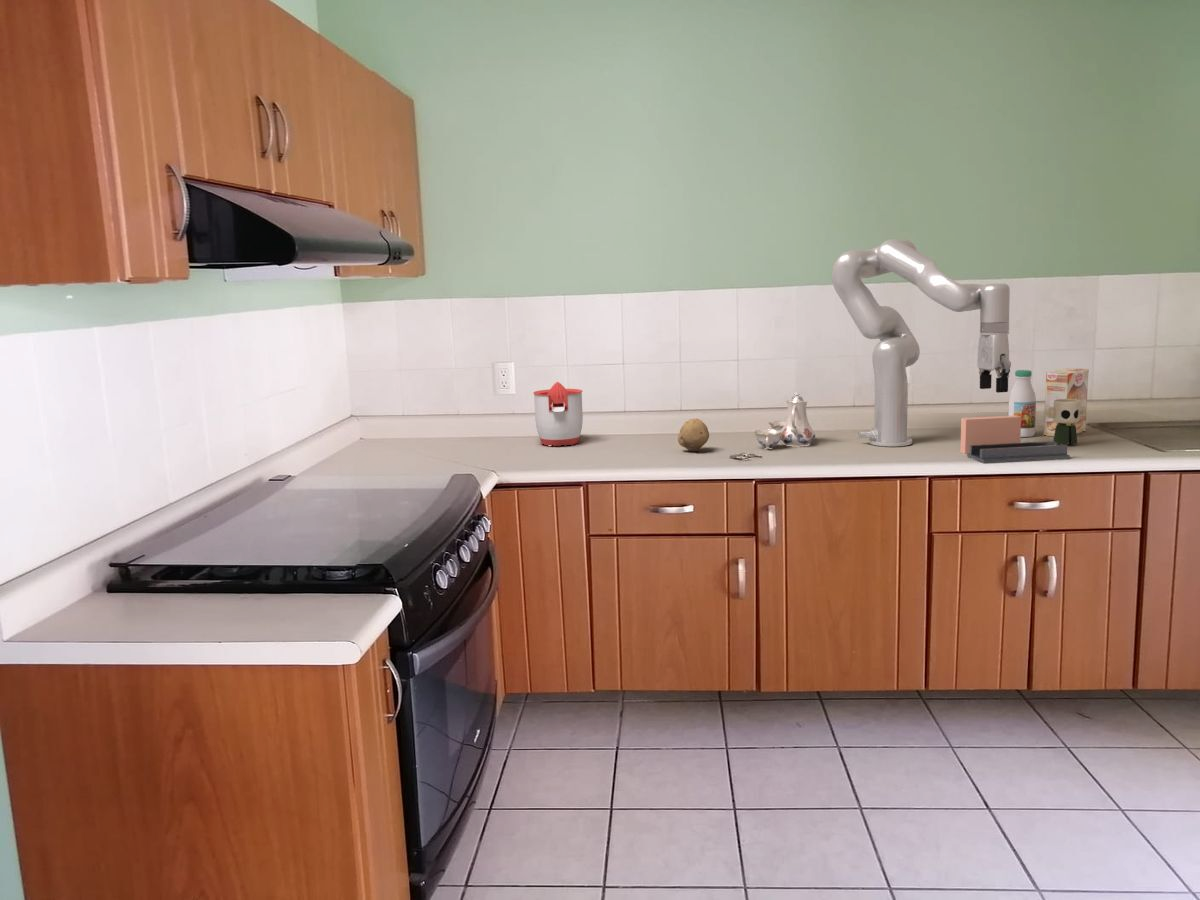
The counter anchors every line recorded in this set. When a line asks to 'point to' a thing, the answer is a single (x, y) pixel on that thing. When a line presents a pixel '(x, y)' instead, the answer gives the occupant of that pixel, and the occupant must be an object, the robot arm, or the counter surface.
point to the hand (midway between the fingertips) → (993, 390)
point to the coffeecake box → (1065, 394)
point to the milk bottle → (1023, 402)
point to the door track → (1018, 452)
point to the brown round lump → (693, 435)
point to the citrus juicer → (558, 415)
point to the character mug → (1066, 419)
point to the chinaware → (789, 427)
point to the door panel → (989, 431)
